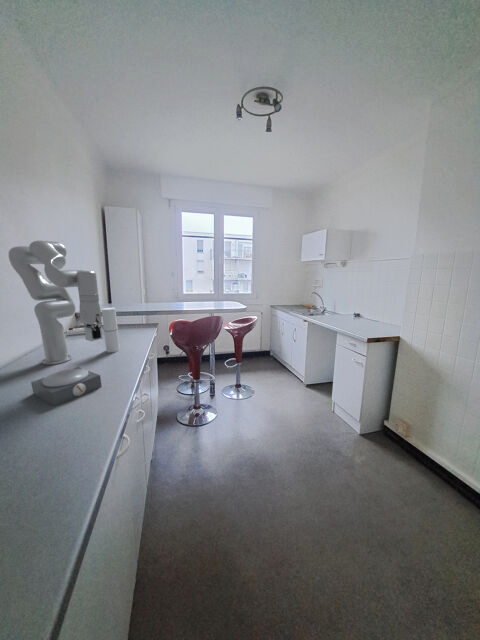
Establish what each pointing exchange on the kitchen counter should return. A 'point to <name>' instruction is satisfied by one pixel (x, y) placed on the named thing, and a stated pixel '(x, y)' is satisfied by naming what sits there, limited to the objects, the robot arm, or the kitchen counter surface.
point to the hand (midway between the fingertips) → (93, 337)
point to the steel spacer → (90, 333)
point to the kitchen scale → (65, 385)
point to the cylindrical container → (110, 329)
